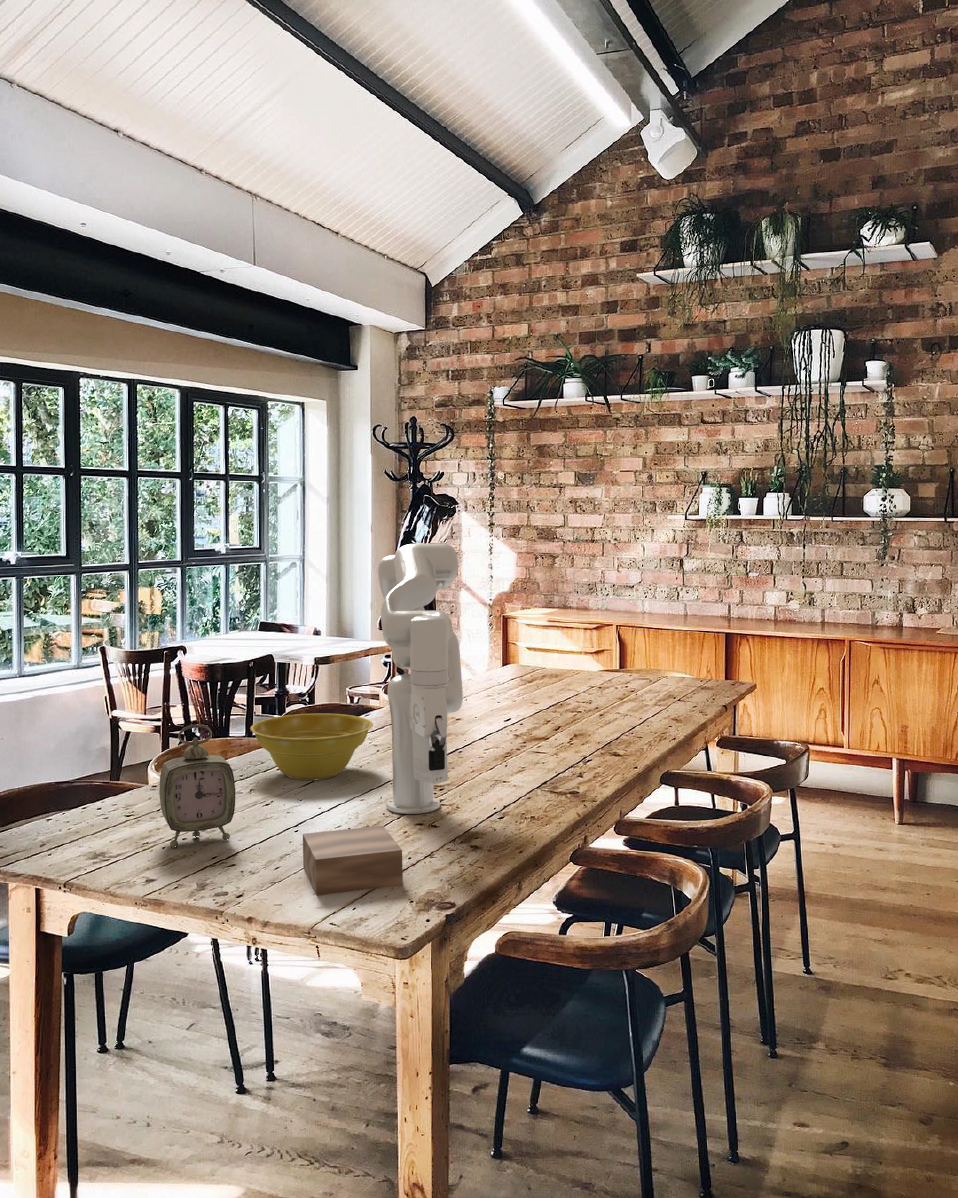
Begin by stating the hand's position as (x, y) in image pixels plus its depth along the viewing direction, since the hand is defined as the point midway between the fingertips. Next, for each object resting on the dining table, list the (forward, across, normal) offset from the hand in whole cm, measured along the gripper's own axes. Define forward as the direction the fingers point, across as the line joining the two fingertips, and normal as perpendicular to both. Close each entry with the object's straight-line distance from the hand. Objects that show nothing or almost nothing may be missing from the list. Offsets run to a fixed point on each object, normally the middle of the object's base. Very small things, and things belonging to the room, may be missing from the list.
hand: (429, 764), depth 205 cm
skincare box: (+3, 0, 0) cm, 3 cm away
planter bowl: (+21, -74, -6) cm, 77 cm away
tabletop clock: (+19, -28, -42) cm, 54 cm away
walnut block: (+19, +6, -18) cm, 27 cm away
